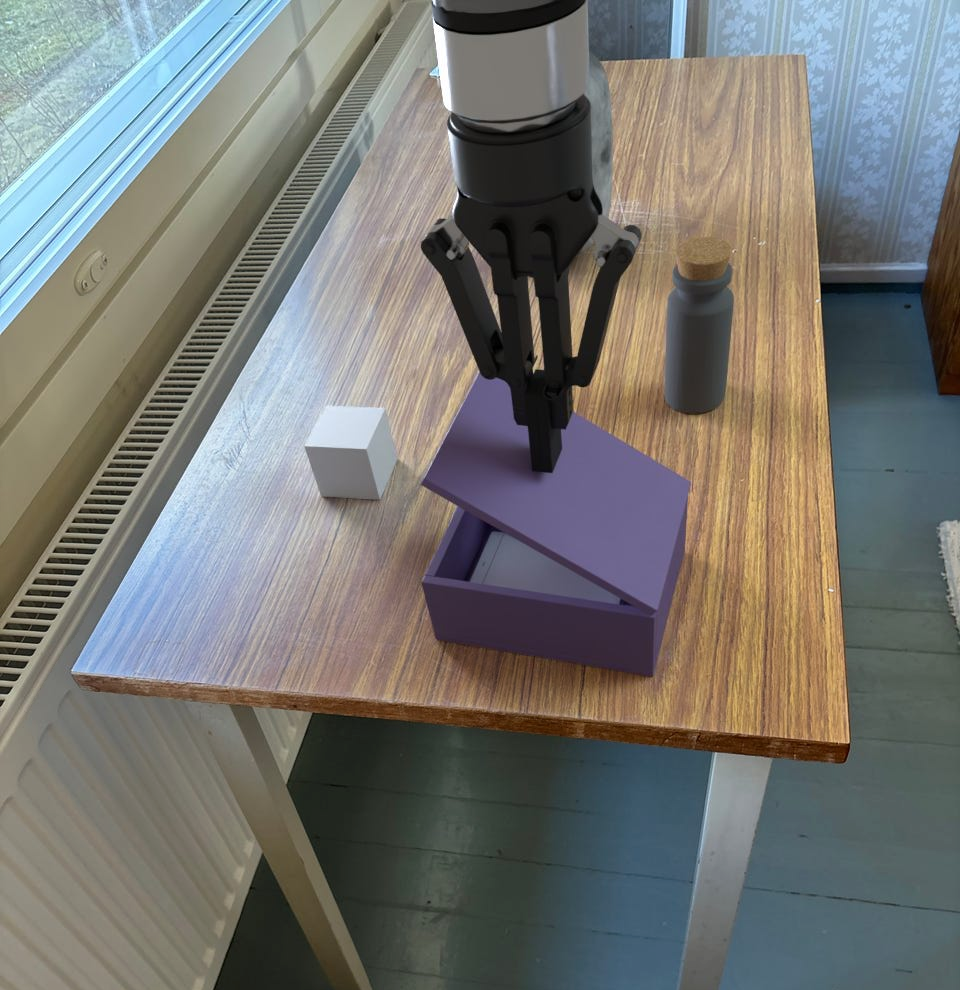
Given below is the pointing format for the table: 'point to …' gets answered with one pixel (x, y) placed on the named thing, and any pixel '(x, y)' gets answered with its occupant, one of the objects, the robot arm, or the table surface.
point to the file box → (539, 609)
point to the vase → (600, 136)
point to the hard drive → (532, 571)
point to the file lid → (565, 495)
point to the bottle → (699, 326)
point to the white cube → (352, 452)
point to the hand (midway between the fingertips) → (547, 459)
